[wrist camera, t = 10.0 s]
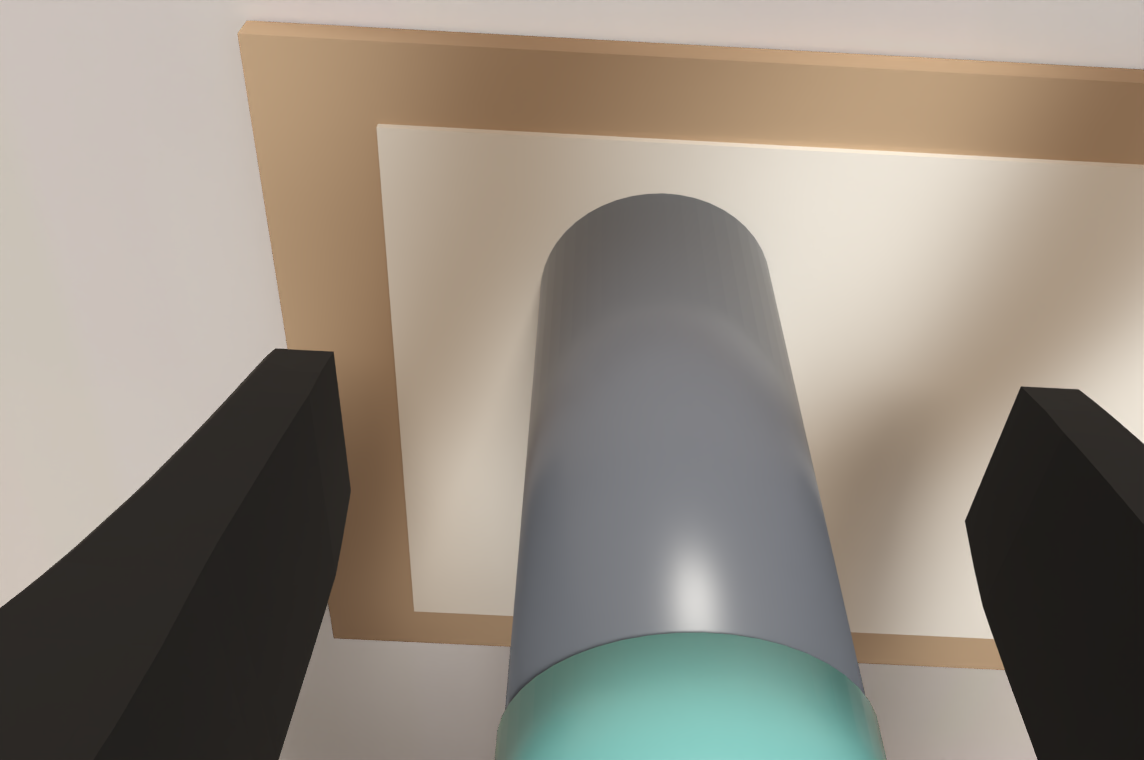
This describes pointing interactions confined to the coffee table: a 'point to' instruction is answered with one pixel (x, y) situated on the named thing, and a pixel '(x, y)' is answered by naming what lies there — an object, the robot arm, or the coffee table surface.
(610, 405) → the marker
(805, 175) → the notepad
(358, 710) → the coffee table surface
